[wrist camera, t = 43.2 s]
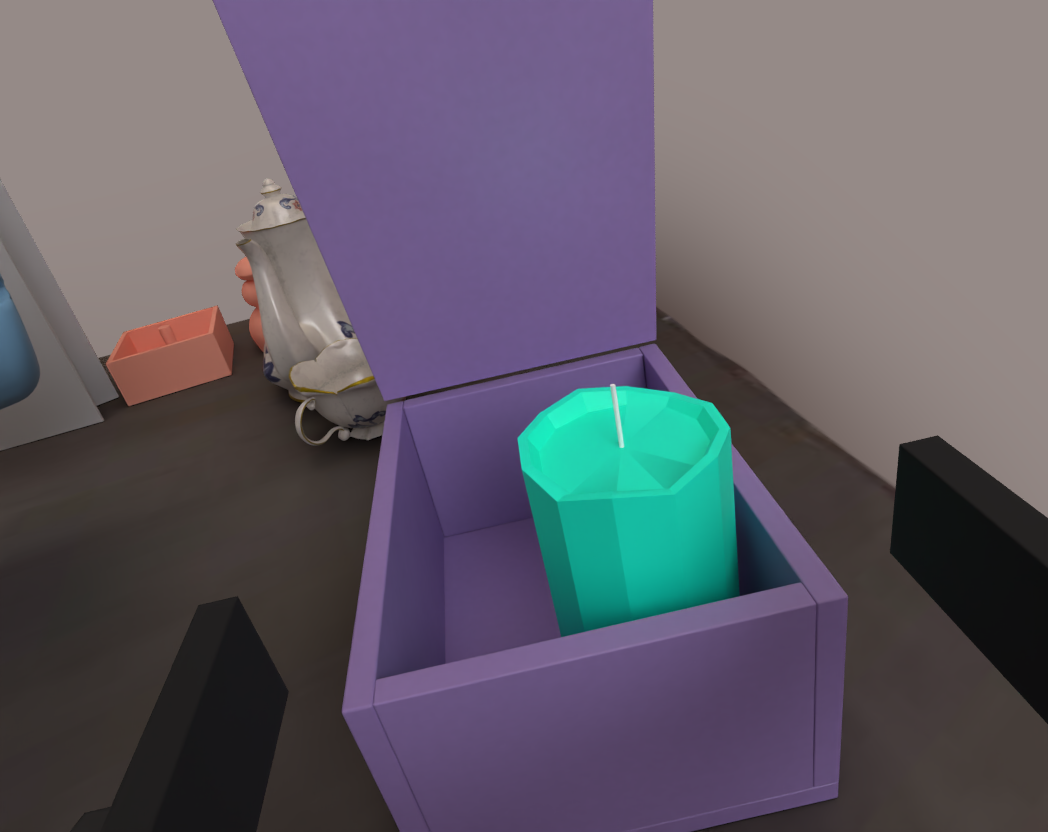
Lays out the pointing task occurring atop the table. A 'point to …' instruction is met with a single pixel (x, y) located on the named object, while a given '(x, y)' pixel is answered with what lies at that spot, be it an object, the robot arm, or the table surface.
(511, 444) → the box
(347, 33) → the lid
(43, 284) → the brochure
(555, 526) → the candle
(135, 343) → the pottery
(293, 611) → the table surface
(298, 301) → the chinaware
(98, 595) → the table surface
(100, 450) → the table surface
